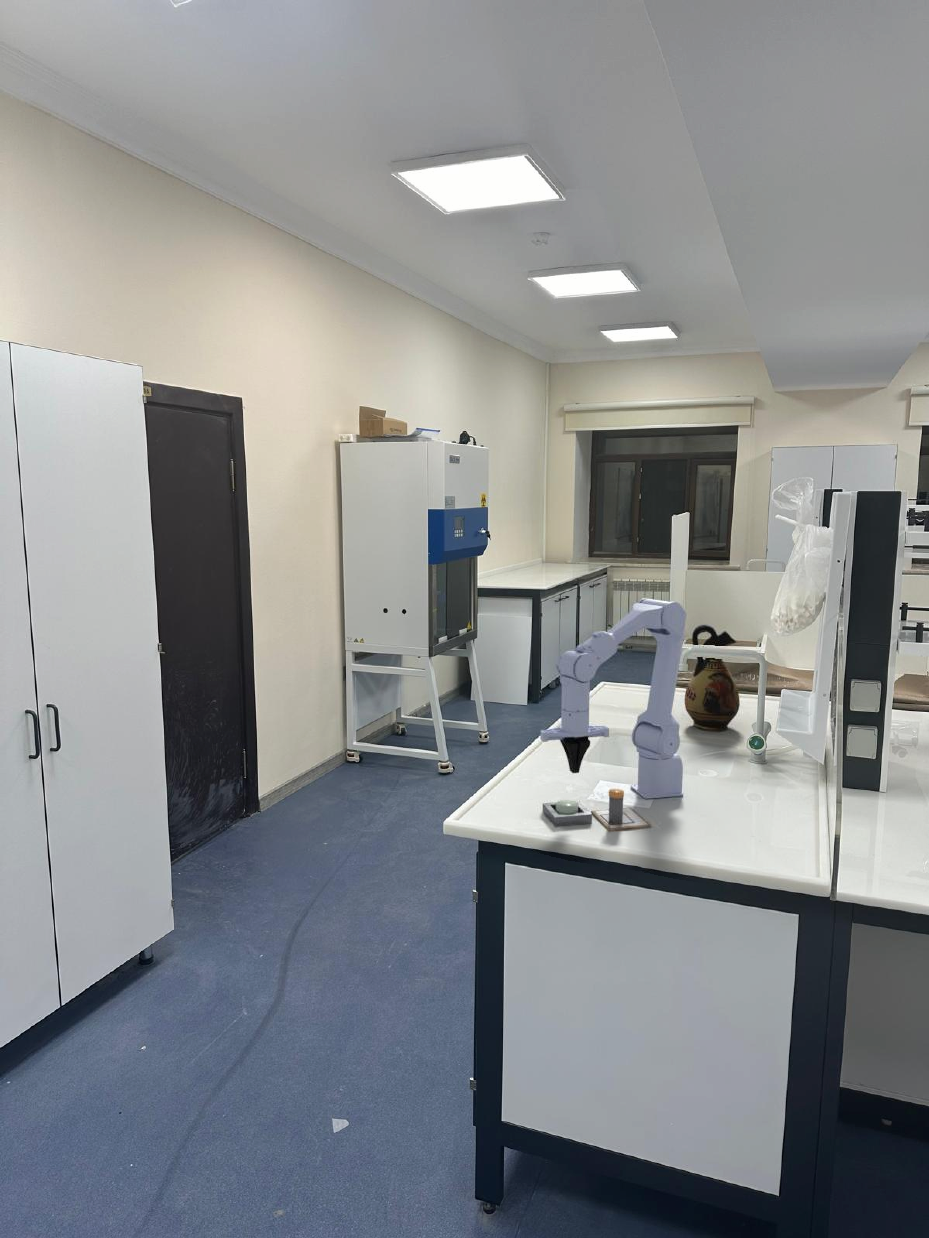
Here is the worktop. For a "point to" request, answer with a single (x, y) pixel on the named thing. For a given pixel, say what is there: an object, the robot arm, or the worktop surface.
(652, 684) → the robot arm
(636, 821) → the wooden framed board
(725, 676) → the ceramic jug
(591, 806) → the worktop surface
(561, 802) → the button
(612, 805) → the marker
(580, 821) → the button housing
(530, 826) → the worktop surface
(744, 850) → the worktop surface
